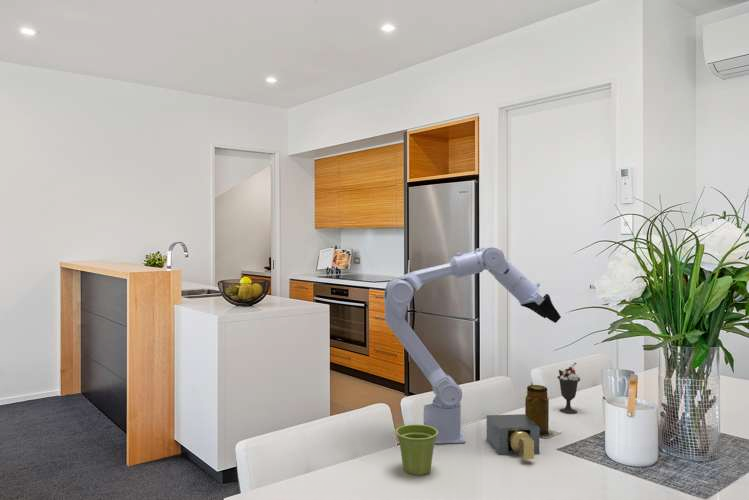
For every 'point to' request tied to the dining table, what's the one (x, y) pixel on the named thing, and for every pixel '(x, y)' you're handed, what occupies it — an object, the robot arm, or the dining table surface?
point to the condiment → (539, 409)
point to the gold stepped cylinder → (521, 443)
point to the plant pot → (416, 447)
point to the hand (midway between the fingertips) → (552, 317)
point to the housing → (503, 423)
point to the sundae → (568, 387)
